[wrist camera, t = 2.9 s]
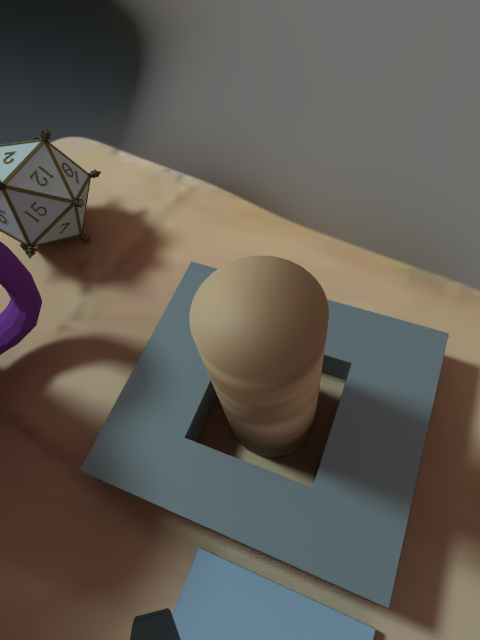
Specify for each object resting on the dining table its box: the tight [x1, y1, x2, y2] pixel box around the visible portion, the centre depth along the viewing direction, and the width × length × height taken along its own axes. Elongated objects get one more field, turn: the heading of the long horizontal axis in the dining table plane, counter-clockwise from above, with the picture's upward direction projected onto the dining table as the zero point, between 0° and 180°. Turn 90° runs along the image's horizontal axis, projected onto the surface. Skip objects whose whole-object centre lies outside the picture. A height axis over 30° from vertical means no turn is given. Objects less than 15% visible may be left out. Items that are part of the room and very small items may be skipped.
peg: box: [189, 256, 329, 457], centre depth 22 cm, size 5×5×12 cm
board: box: [80, 262, 449, 608], centre depth 26 cm, size 16×14×2 cm
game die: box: [0, 128, 101, 258], centre depth 32 cm, size 9×8×10 cm
